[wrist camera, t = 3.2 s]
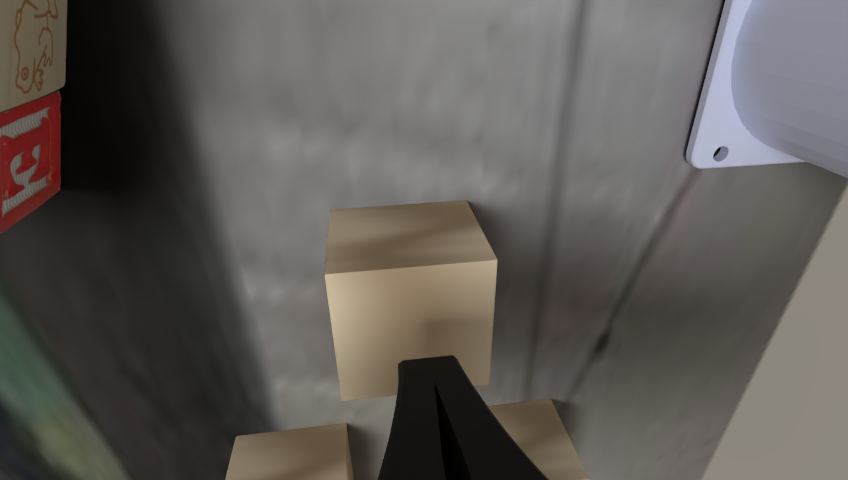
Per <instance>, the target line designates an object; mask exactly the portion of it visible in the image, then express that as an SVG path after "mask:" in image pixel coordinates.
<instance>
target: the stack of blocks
mask: <svg viewBox="0 0 848 480" xmlns="http://www.w3.org/2000/svg"><path fill="white" fill-rule="evenodd" d="M66 35H67V0H0V233H2V232H3V231H5V230H6V229H8V228H9V227H11V226H13V225H14V224H15V223H16V222H18V221H19V220H21V219H22V218H24V217H25V216H27V215H28V214H30V213H31V212H33V211H34V210H35V209H36V208H38V207H39V206H40V205H42V204H43V203H44V202H46V201H47V200H48V199H49V198H51V197H52V196H53V195H54V194H56V193H57V192H58V191H59V190H60V184H61V176H60V143H61V131H60V125H61V113H60V106H61V95H60V92H59V89H60V88H62V87H63V86H64V84H65V73H66Z"/></svg>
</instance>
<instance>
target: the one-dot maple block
mask: <svg viewBox="0 0 848 480" xmlns="http://www.w3.org/2000/svg"><path fill="white" fill-rule="evenodd" d="M487 407H488V408H489V409H490V411H491V412H492V413H493V414H494V416H495V417H496V418H497V420H498V421H499V422H500V424H501V425H502V426H503V428H504V429H505V430H506V431H507V433H508V434H509V435H510V436H511V438H512V439H513V440H514V441H515V442H516V444H517V445H518V446H519V447H520V448H521V450H522V451H523V452H524V453H525V454H526V455H527V457H528V458H529V459H530V460H531V461H532V462H533V463H534V464H535V466H536V467H537V468H538V469H539V470H540V471H541V472H542V473H543V474H544V475H545V476H546V477H547V478H548V479H549V480H589V478H588V476H587V474H586V471H585V469H584V467H583V465H582V463H581V461H580V459H579V457H578V455H577V453H576V450H575V448H574V446H573V444H572V442H571V440H570V438H569V436H568V434H567V432H566V429H565V427H564V425H563V423H562V421H561V419H560V417H559V415H558V413H557V411H556V409H555V406H554V404H553V402H552V400H551V399H544V400H535V401H527V402H519V403H510V404H502V405H493V406H487Z"/></svg>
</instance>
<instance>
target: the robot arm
mask: <svg viewBox="0 0 848 480" xmlns="http://www.w3.org/2000/svg"><path fill="white" fill-rule="evenodd" d="M719 147H720V151H719V153H718V154H717V155H716V156H715V157H713V154H714V152H715V150H717V149H718V148H719ZM686 159H687V162H688V163H689V164H691V165H692V166H694V167H696V168H700V169H705V168H720V167H735V166H750V165H765V164H780V163H795V162H809V163H811V164H814V165H816V166H819V167H821V168H824V169H826V170H828V171H831V172H833V173H836V174H838V175H841V176H843V177H846V178H848V0H725V4H724V8H723V12H722V16H721V20H720V23H719V27H718V31H717V35H716V39H715V43H714V47H713V50H712V54H711V58H710V62H709V66H708V70H707V74H706V78H705V81H704V85H703V89H702V93H701V97H700V101H699V105H698V108H697V112H696V116H695V120H694V124H693V128H692V132H691V136H690V139H689V143H688V147H687V151H686ZM378 480H549V479H548V478H547V477H546V476H545V475H544V474H543V473H542V472H541V471H540V470H539V469H538V468H537V467H536V466H535V464H534V463H533V462H532V461H531V460H530V459H529V458H528V457H527V455H526V454H525V453H524V452H523V451H522V450H521V448H520V447H519V446H518V445H517V444H516V442H515V441H514V440H513V439H512V438H511V436H510V435H509V434H508V433H507V431H506V430H505V429H504V428H503V426H502V425H501V424H500V422H499V421H498V420H497V418H496V417H495V416H494V414H493V413H492V412H491V411H490V409H489V408H488V407H487V405H486V404H485V402H484V401H483V400H482V398H481V397H480V395H479V394H478V392H477V391H476V389H475V388H474V386H473V385H472V383H471V382H470V380H469V378H468V377H467V375H466V374H465V372H464V370H463V369H462V367H461V365H460V363H459V361H458V359H457V358H456V357H454V356H453V355H448V356H439V357H430V358H420V359H411V360H402V361H401V362H400V363H399V364H398V393H397V400H396V407H395V412H394V417H393V422H392V427H391V432H390V437H389V441H388V444H387V448H386V452H385V455H384V459H383V463H382V466H381V470H380V473H379V477H378Z"/></svg>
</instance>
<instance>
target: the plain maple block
mask: <svg viewBox="0 0 848 480" xmlns="http://www.w3.org/2000/svg"><path fill="white" fill-rule="evenodd" d="M497 261H498V260H497V258H496V256H495V254H494V252H493V250H492V248H491V246H490V244H489V243H488V241H487V239H486V237H485V235H484V233H483V231H482V229H481V227H480V225H479V223H478V221H477V219H476V218H475V216H474V214H473V212H472V210H471V208H470V206H469V204H468V202H467V200H465V201H451V202H437V203H422V204H408V205H394V206H379V207H365V208H351V209H336V210H330V219H329V230H328V241H327V253H326V264H325V281H326V288H327V296H328V303H329V310H330V318H331V325H332V333H333V340H334V347H335V355H336V362H337V369H338V377H339V384H340V391H341V399H342V401H349V400H357V399H366V398H375V397H384V396H393V395H397V393H398V364H399V363H400V362H401V361H402V360H411V359H420V358H430V357H439V356H448V355H453V356H454V357H456V358H457V359H458V361H459V363H460V365H461V367H462V369H463V370H464V372H465V374H466V375H467V377H468V378H469V380H470V382H471V383H472V385H473V386H482V385H489V377H490V362H491V348H492V333H493V319H494V304H495V290H496V275H497Z"/></svg>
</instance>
